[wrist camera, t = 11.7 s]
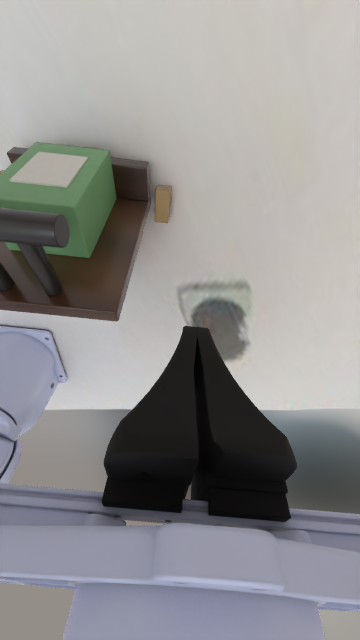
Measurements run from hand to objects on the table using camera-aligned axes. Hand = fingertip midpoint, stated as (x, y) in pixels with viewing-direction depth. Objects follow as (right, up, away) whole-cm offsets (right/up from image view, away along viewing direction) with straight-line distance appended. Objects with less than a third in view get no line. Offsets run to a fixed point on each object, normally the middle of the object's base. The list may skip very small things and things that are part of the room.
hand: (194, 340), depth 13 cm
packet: (-8, +7, +2) cm, 11 cm away
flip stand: (-8, +6, +2) cm, 10 cm away
